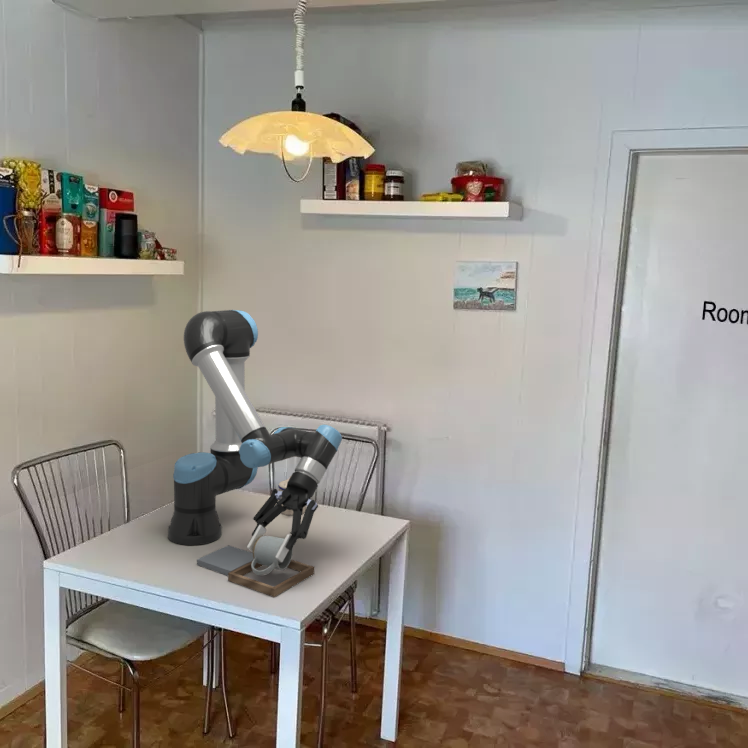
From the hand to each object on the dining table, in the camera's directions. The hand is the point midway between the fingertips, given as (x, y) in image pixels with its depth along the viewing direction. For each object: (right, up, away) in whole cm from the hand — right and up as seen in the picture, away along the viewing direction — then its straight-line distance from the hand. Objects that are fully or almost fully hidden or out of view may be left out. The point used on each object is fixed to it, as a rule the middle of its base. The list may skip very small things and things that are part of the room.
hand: (264, 554), depth 182 cm
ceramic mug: (+1, -4, +2) cm, 5 cm away
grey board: (-11, -5, +11) cm, 17 cm away
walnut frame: (+1, -7, +4) cm, 8 cm away
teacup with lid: (+1, +1, +51) cm, 51 cm away
